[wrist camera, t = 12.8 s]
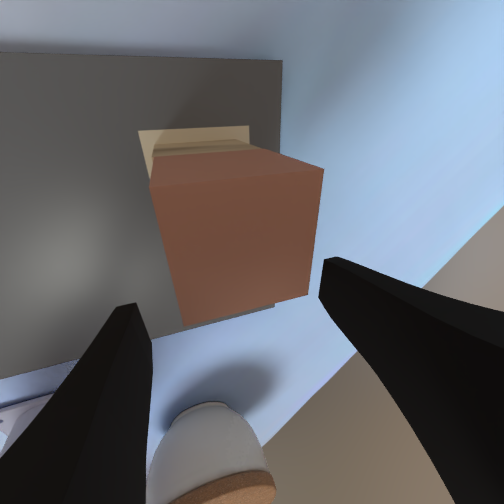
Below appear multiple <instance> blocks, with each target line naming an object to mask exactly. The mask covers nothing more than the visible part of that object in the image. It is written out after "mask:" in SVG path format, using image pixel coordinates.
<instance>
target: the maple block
mask: <svg viewBox="0 0 504 504" xmlns="http://www.w3.org/2000/svg"><path fill="white" fill-rule="evenodd" d="M252 149H262V148H259V147H256V146H254V145H251V144H248V143H245V142H242V141H239V140H237V139H230V140H215V141H200V142H184V143H169V144H154V148H153V153H152V162H153V160H154V157H157V156H171V155H184V154H198V153H211V152H225V151H239V150H252Z"/></svg>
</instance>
